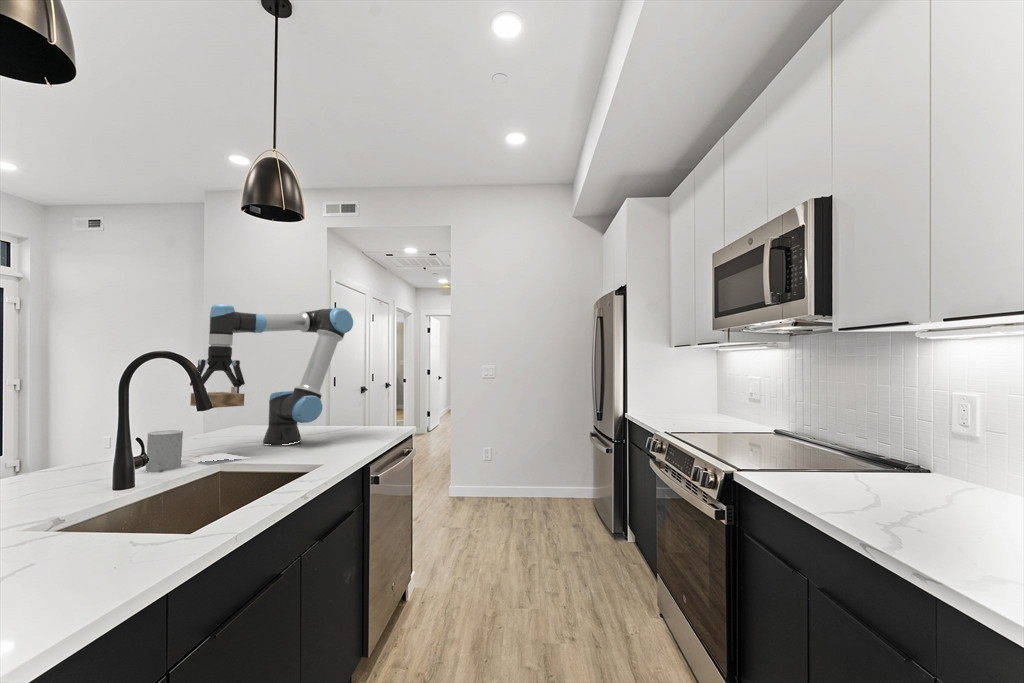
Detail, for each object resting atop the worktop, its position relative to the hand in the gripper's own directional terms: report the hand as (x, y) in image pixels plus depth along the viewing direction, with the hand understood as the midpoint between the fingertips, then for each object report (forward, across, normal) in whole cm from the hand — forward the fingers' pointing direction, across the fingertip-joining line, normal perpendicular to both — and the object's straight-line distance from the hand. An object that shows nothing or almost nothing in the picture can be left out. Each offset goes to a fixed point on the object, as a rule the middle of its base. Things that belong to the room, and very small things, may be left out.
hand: (217, 404), depth 170 cm
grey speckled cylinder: (+20, +17, +2) cm, 27 cm away
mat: (+20, -1, 0) cm, 20 cm away
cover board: (0, 0, 0) cm, 0 cm away
